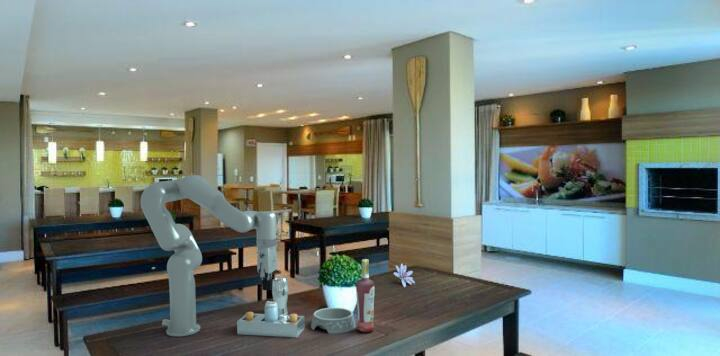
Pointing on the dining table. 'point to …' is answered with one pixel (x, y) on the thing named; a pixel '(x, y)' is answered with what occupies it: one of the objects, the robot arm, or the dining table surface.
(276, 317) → the cylinder
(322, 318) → the dog bowl
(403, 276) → the water lily
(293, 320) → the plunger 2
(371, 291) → the liquor
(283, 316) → the housing
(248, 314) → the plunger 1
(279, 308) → the beer glass
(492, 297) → the dining table surface
